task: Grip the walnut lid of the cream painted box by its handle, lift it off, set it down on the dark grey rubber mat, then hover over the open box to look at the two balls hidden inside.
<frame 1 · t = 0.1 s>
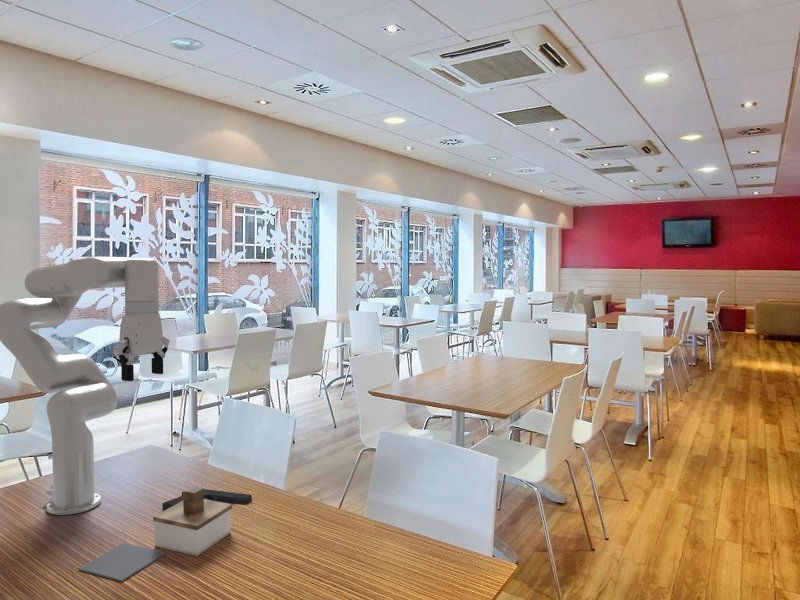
hand: (143, 377, 140), 37 cm above the table, tool pointing down, fingers open, 9 cm apart
handgun: (207, 507, 153), on the table
mat: (123, 562, 123), on the table
box: (193, 539, 133), on the table
lid: (193, 514, 133), point 6 cm above the table, touching box
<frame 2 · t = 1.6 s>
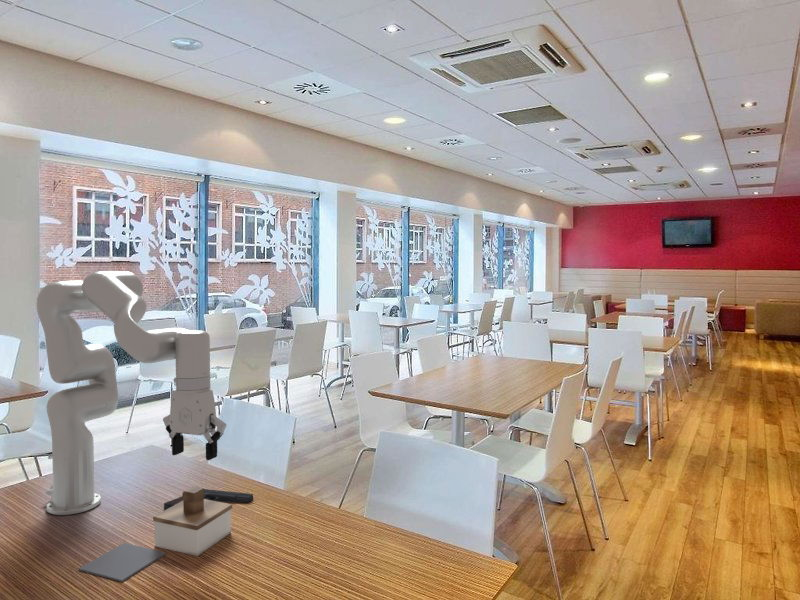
hand: (194, 456, 132), 20 cm above the table, tool pointing down, fingers open, 9 cm apart
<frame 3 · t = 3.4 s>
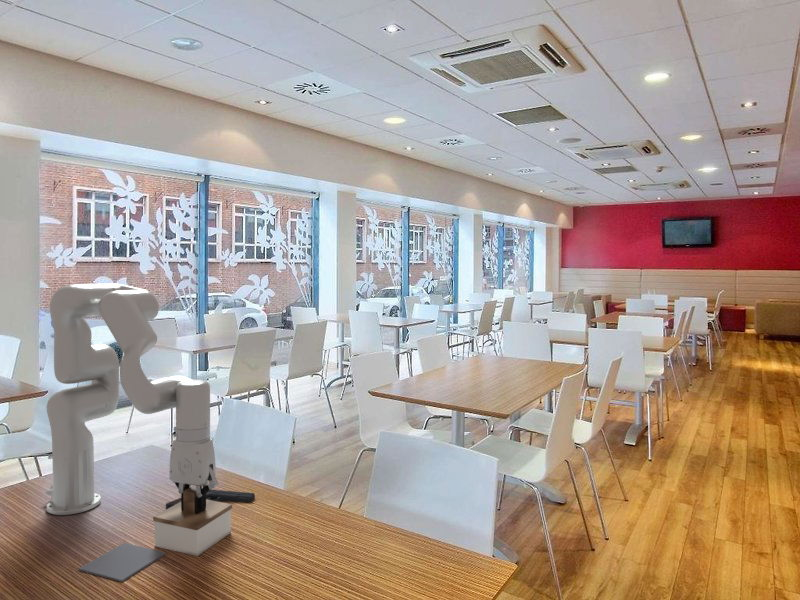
hand: (193, 509, 133), 7 cm above the table, tool pointing down, fingers closed on lid, 3 cm apart
lid: (193, 514, 133), point 6 cm above the table, touching box, gripper
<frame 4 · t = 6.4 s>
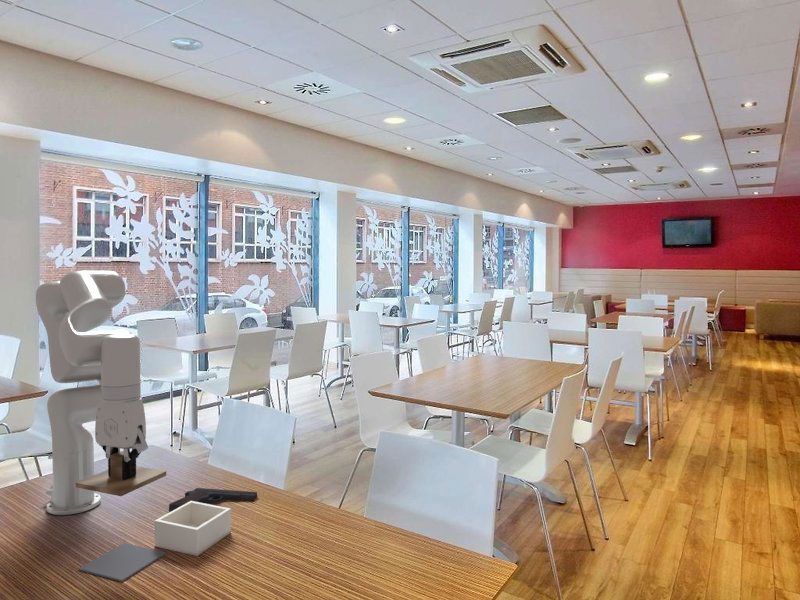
hand: (122, 475, 122), 19 cm above the table, tool pointing down, fingers closed on lid, 3 cm apart
lid: (122, 481, 122), point 18 cm above the table, touching gripper
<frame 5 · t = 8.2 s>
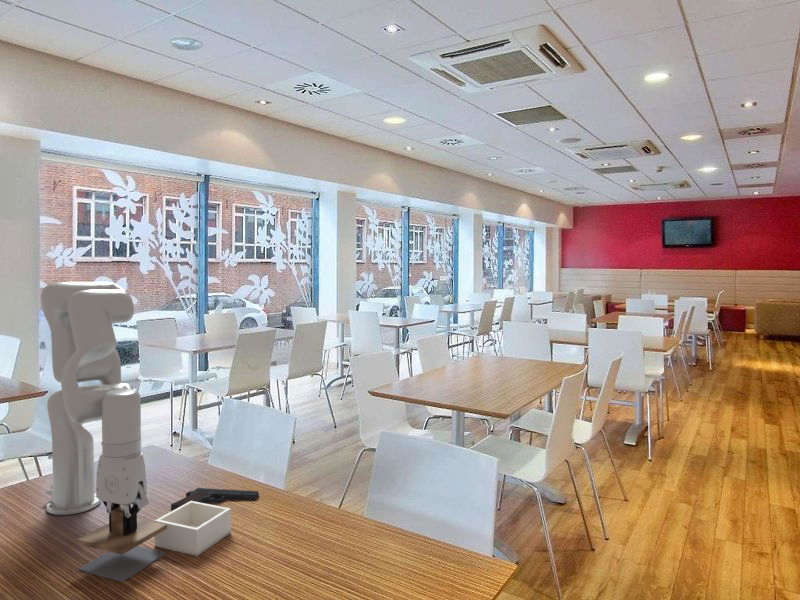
hand: (123, 530, 122), 7 cm above the table, tool pointing down, fingers closed on lid, 3 cm apart
lid: (123, 536, 122), point 6 cm above the table, touching gripper
when the fingers open (3 cm above the table, at t = 9.5 s): lid drops 1 cm, resting on mat.
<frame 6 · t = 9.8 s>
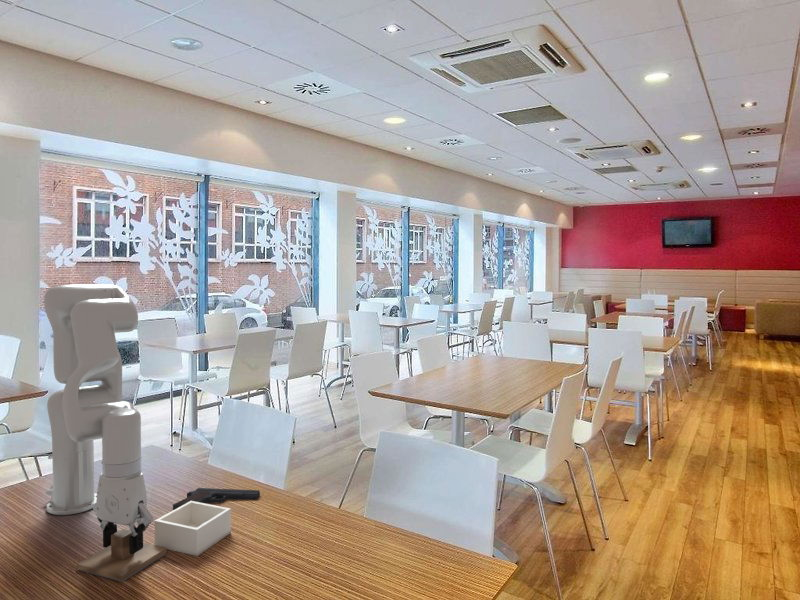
hand: (123, 547, 123), 3 cm above the table, tool pointing down, fingers open, 6 cm apart
lid: (123, 560, 123), resting on mat
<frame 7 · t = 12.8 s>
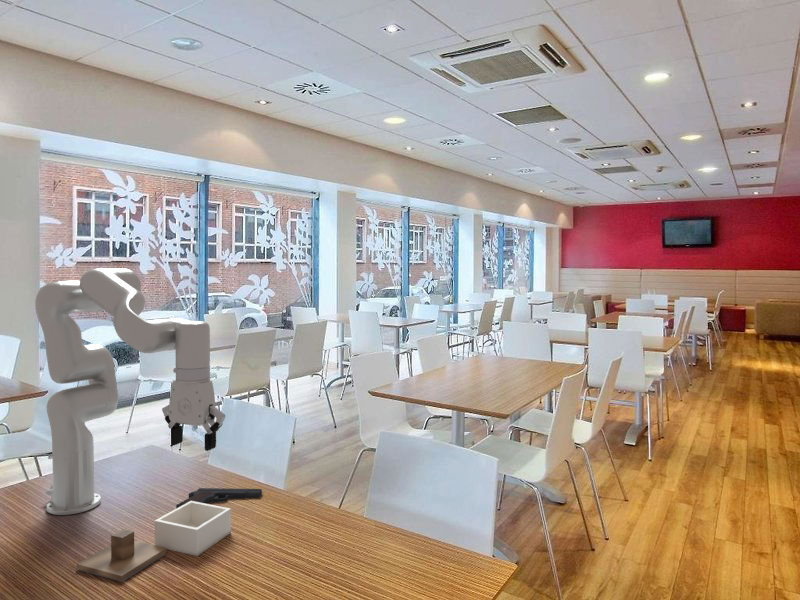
hand: (193, 446, 132), 22 cm above the table, tool pointing down, fingers open, 9 cm apart
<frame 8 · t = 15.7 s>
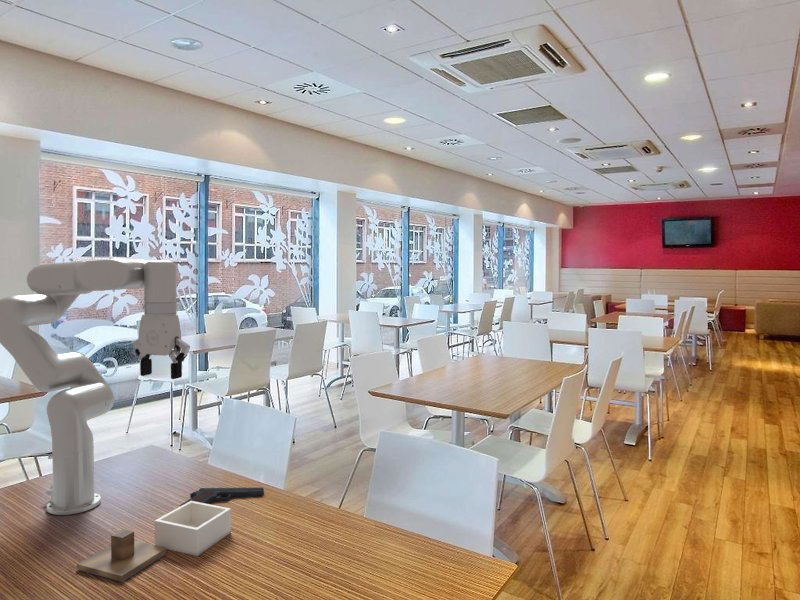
hand: (161, 376, 143), 36 cm above the table, tool pointing down, fingers open, 9 cm apart
at the end: lid inside the target area (0.1 cm from its centre), resting on mat; lid tilted 0°; lid touching mat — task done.
